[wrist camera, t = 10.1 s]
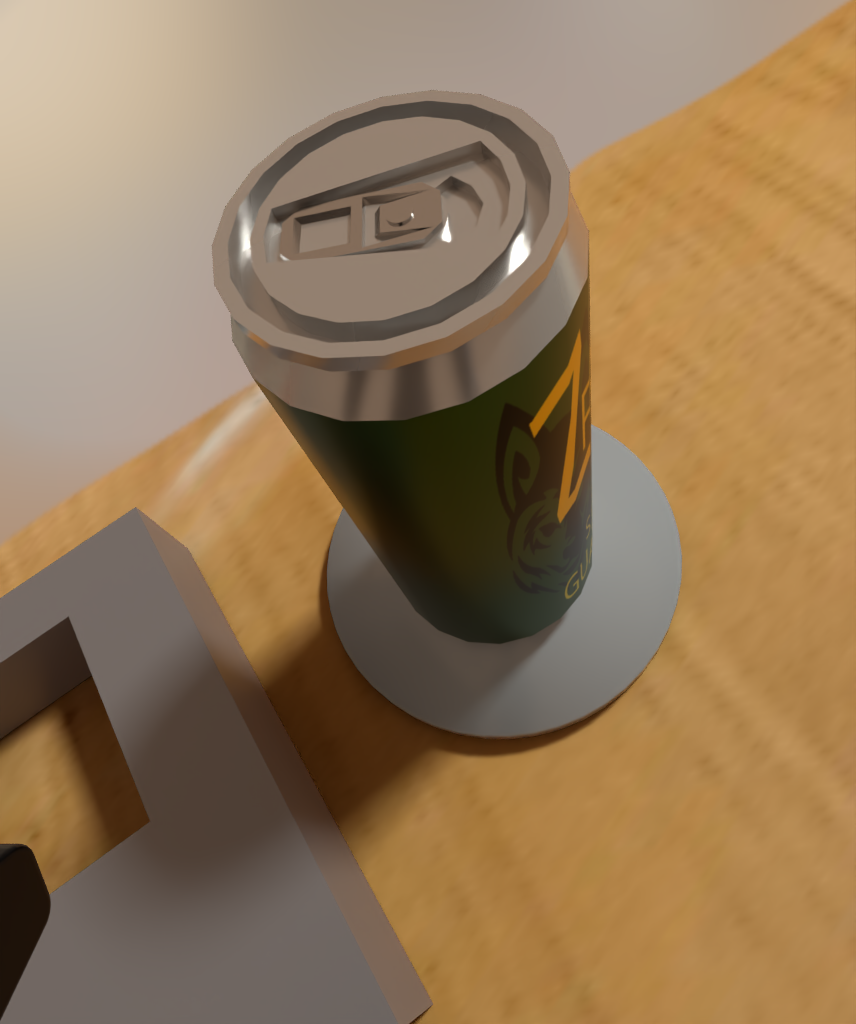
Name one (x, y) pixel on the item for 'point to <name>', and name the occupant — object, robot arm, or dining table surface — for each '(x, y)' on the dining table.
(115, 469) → the dining table surface
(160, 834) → the can dock
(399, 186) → the beer can
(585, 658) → the coaster
